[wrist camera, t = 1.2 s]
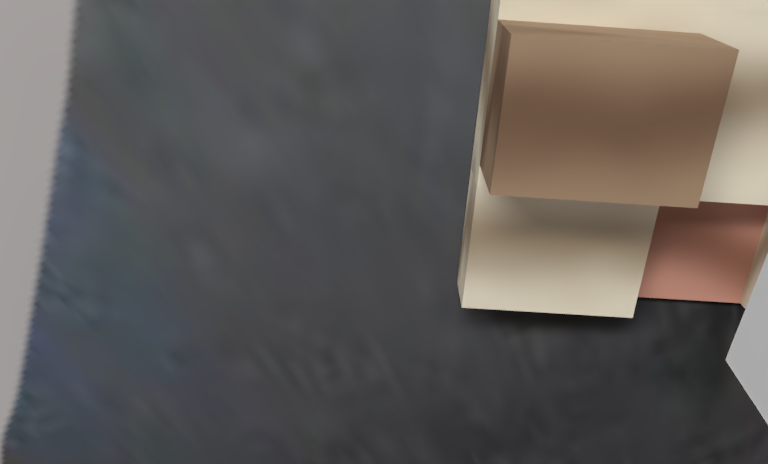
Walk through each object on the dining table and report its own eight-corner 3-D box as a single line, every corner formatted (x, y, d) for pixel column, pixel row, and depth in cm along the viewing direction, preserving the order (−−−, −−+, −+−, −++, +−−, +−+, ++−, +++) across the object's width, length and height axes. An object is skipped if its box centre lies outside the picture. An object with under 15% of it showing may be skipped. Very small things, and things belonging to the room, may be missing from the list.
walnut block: (666, 176, 31) (697, 208, 28) (479, 164, 31) (490, 194, 28) (700, 33, 29) (739, 49, 26) (498, 19, 29) (511, 34, 25)
